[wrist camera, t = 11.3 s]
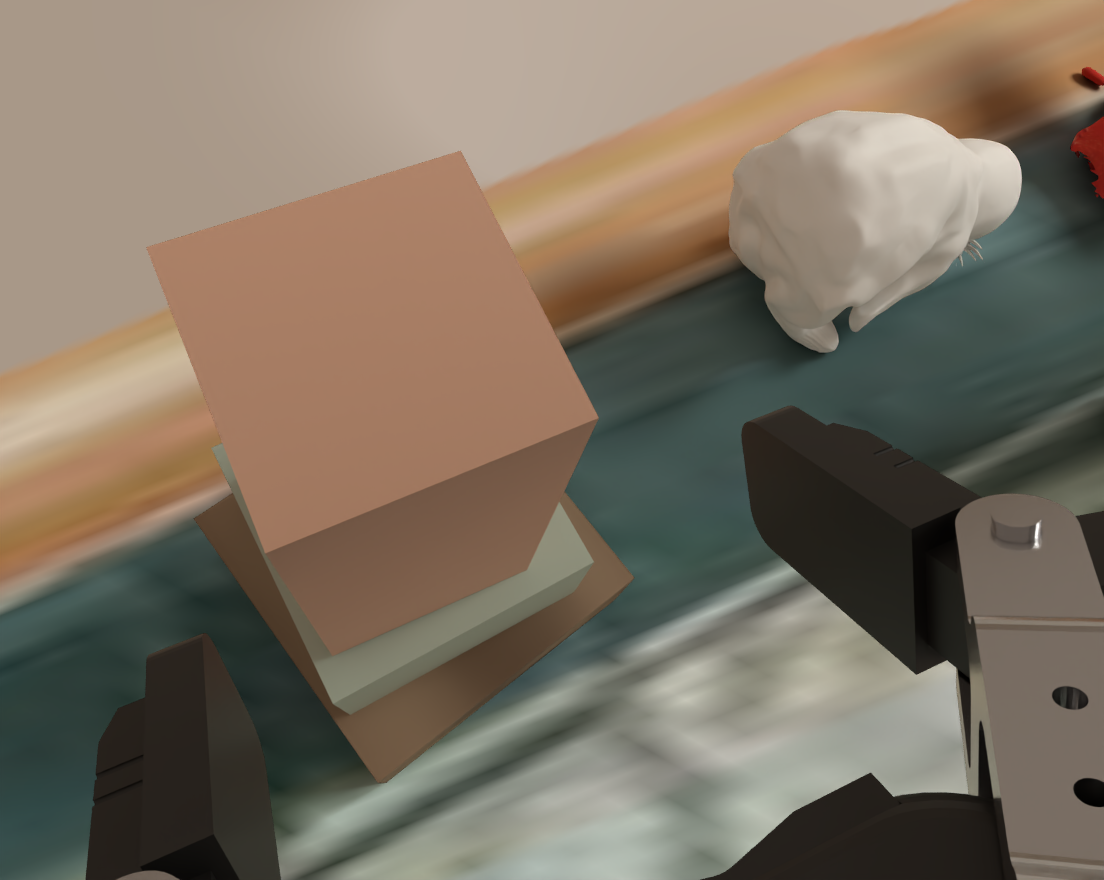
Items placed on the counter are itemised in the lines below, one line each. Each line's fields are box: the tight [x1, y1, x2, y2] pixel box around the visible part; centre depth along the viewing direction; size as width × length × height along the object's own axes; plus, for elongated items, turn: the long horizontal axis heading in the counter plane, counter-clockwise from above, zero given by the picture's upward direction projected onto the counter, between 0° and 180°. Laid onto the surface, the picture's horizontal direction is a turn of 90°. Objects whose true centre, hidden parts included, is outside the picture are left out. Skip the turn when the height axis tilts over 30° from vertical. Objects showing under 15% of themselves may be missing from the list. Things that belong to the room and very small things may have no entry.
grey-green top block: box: [212, 443, 594, 715], centre depth 25 cm, size 7×7×4 cm
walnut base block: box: [194, 492, 634, 783], centre depth 29 cm, size 9×9×4 cm
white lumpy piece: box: [729, 110, 1022, 353], centre depth 32 cm, size 6×8×12 cm
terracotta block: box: [147, 151, 599, 656], centre depth 18 cm, size 5×5×10 cm
